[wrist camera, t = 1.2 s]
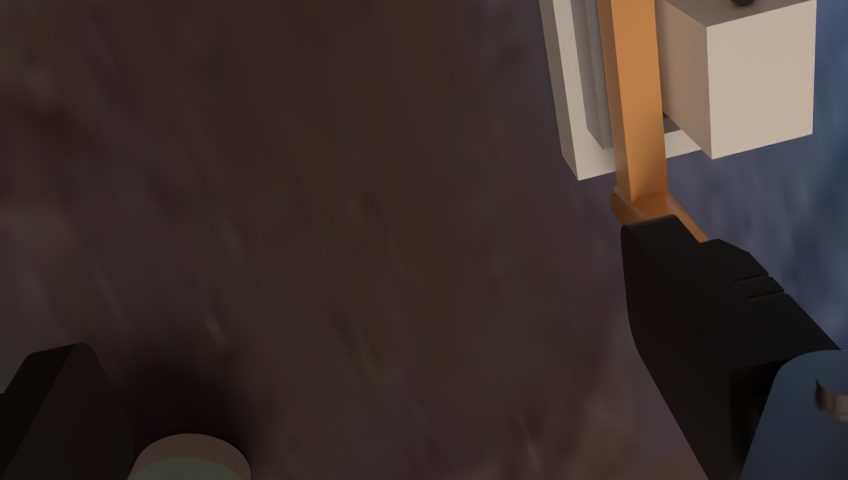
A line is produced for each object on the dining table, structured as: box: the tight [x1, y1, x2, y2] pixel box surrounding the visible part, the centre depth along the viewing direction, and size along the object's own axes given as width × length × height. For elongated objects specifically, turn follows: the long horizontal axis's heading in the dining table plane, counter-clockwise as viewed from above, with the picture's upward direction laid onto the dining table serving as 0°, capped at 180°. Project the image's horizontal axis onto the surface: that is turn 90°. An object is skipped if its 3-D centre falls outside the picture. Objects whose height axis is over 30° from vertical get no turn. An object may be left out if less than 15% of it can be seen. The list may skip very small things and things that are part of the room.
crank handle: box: [597, 0, 709, 243], centre depth 24 cm, size 14×2×7 cm, turn 13°
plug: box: [654, 0, 816, 159], centre depth 24 cm, size 7×5×7 cm
